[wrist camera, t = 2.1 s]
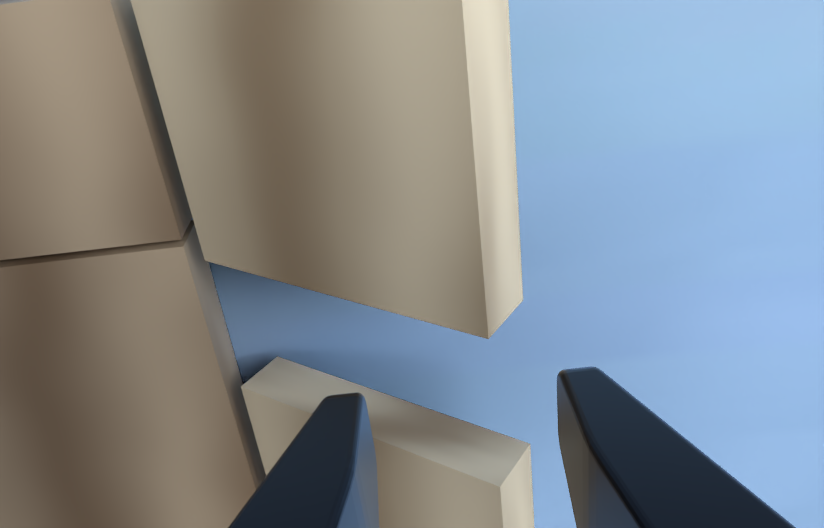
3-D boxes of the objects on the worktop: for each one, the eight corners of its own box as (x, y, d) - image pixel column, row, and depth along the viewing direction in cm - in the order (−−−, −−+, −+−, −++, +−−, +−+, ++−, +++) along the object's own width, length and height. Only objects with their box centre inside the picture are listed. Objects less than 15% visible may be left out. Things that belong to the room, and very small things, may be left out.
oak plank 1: (506, -29, 13) (461, -8, 12) (523, 300, 16) (488, 339, 15) (181, -27, 17) (127, -11, 16) (246, 233, 20) (204, 260, 19)
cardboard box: (128, -22, 17) (107, -10, 16) (278, 509, 26) (272, 545, 24) (-258, 27, 18) (-310, 43, 16) (15, 536, 26) (-4, 573, 25)
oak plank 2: (530, 443, 18) (500, 486, 17) (538, 620, 21) (514, 665, 20) (277, 356, 22) (240, 386, 21) (316, 514, 25) (286, 547, 24)
